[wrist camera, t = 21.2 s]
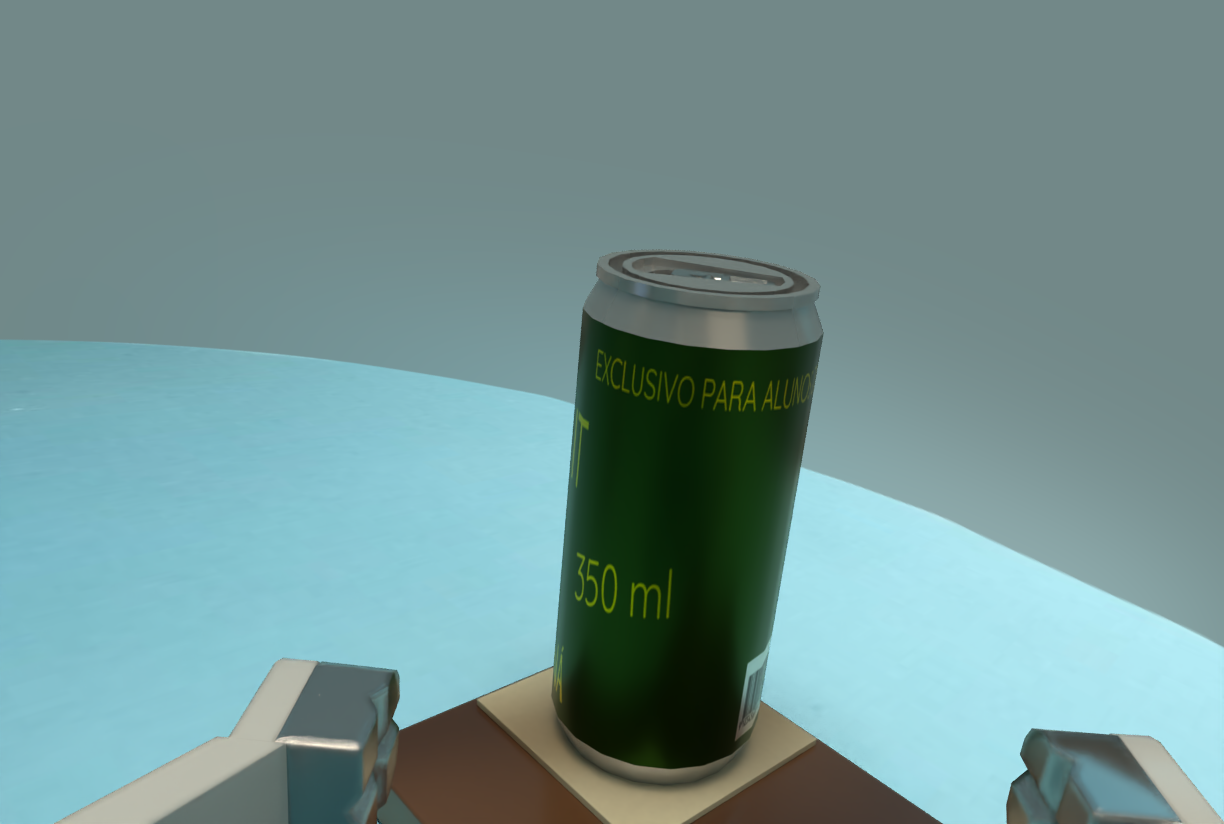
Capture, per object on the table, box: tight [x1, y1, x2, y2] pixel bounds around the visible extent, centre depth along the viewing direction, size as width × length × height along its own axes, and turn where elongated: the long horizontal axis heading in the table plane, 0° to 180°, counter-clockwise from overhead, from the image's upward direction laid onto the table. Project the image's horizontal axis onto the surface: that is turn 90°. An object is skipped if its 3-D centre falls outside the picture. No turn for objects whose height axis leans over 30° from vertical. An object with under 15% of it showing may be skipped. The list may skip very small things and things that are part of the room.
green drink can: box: [551, 250, 823, 786], centre depth 23 cm, size 5×5×12 cm
